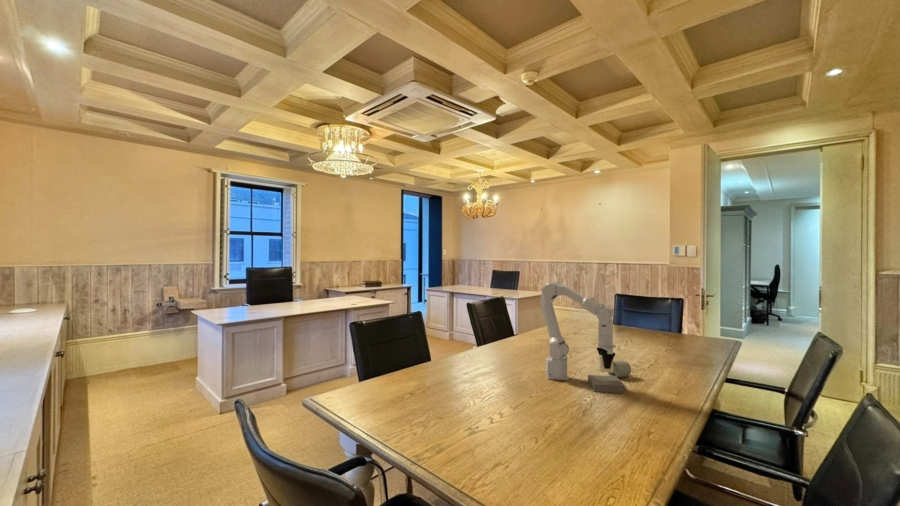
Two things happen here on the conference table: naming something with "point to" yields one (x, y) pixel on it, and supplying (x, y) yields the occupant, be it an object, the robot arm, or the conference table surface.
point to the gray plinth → (606, 384)
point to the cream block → (601, 365)
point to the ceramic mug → (620, 369)
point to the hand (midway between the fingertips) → (605, 366)
